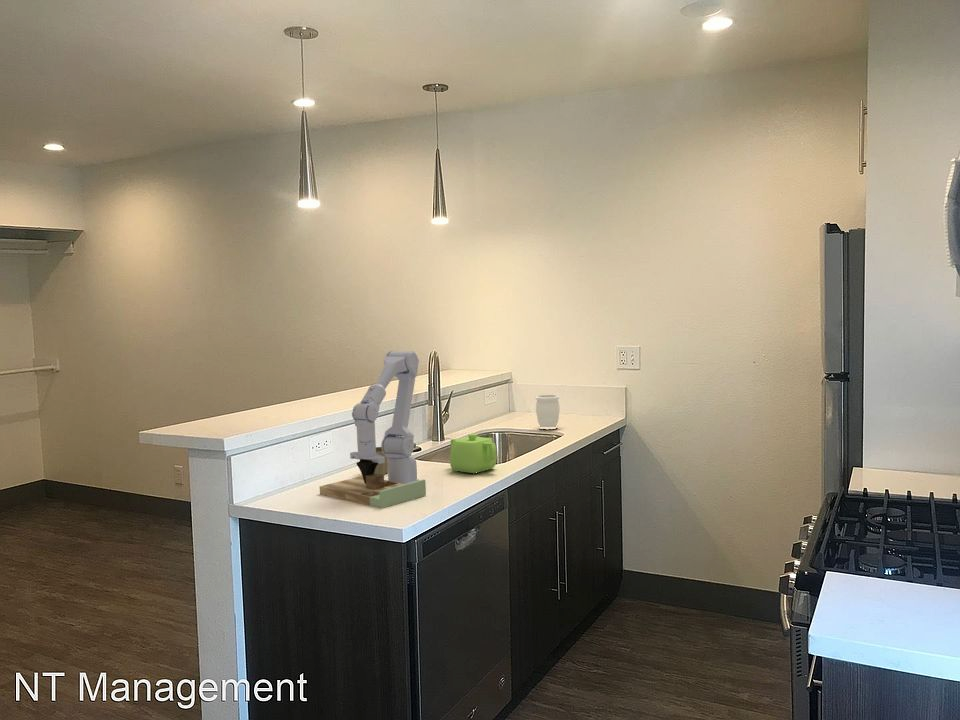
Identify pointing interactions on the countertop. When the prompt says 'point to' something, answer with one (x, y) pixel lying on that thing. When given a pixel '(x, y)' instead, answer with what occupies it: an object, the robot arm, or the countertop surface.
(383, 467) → the flower pot
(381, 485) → the walnut block
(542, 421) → the jar
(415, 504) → the countertop surface
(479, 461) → the teapot
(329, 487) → the box
